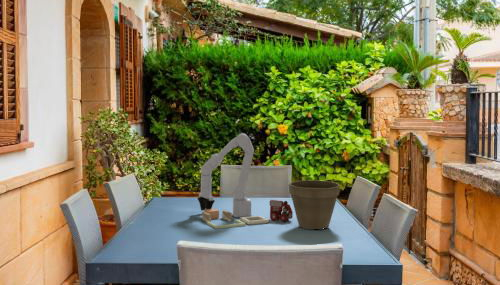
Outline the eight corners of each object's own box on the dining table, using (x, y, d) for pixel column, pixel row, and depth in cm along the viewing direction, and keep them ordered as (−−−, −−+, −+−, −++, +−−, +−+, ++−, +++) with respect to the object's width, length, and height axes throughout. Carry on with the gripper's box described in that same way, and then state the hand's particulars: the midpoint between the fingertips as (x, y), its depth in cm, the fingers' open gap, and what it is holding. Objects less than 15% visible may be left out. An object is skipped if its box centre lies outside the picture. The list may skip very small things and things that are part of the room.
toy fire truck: (289, 222, 284) (290, 202, 283) (267, 220, 289) (267, 200, 288) (293, 220, 291) (294, 200, 290) (271, 217, 295) (272, 198, 294)
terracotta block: (214, 216, 296) (214, 208, 296) (218, 218, 291) (218, 210, 291) (203, 216, 294) (203, 209, 293) (208, 219, 288) (208, 211, 288)
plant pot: (305, 235, 258) (307, 188, 257) (278, 224, 280) (279, 181, 279) (348, 230, 270) (350, 186, 268) (319, 219, 292) (321, 179, 290)
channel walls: (224, 217, 293) (225, 210, 292) (231, 220, 285) (231, 213, 285) (202, 219, 287) (202, 212, 286) (208, 222, 280) (208, 215, 279)
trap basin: (259, 219, 291) (259, 215, 290) (268, 223, 282) (268, 219, 282) (240, 220, 286) (240, 217, 285) (249, 224, 277) (249, 221, 277)
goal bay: (235, 221, 284) (235, 219, 284) (245, 225, 275) (245, 223, 275) (206, 223, 277) (206, 221, 277) (215, 228, 267) (215, 226, 267)
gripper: (194, 185, 303) (193, 209, 304) (204, 189, 290) (203, 214, 291) (206, 184, 306) (205, 208, 307) (216, 188, 293) (216, 213, 294)
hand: (205, 211), depth 299 cm, fingers open, 7 cm apart
